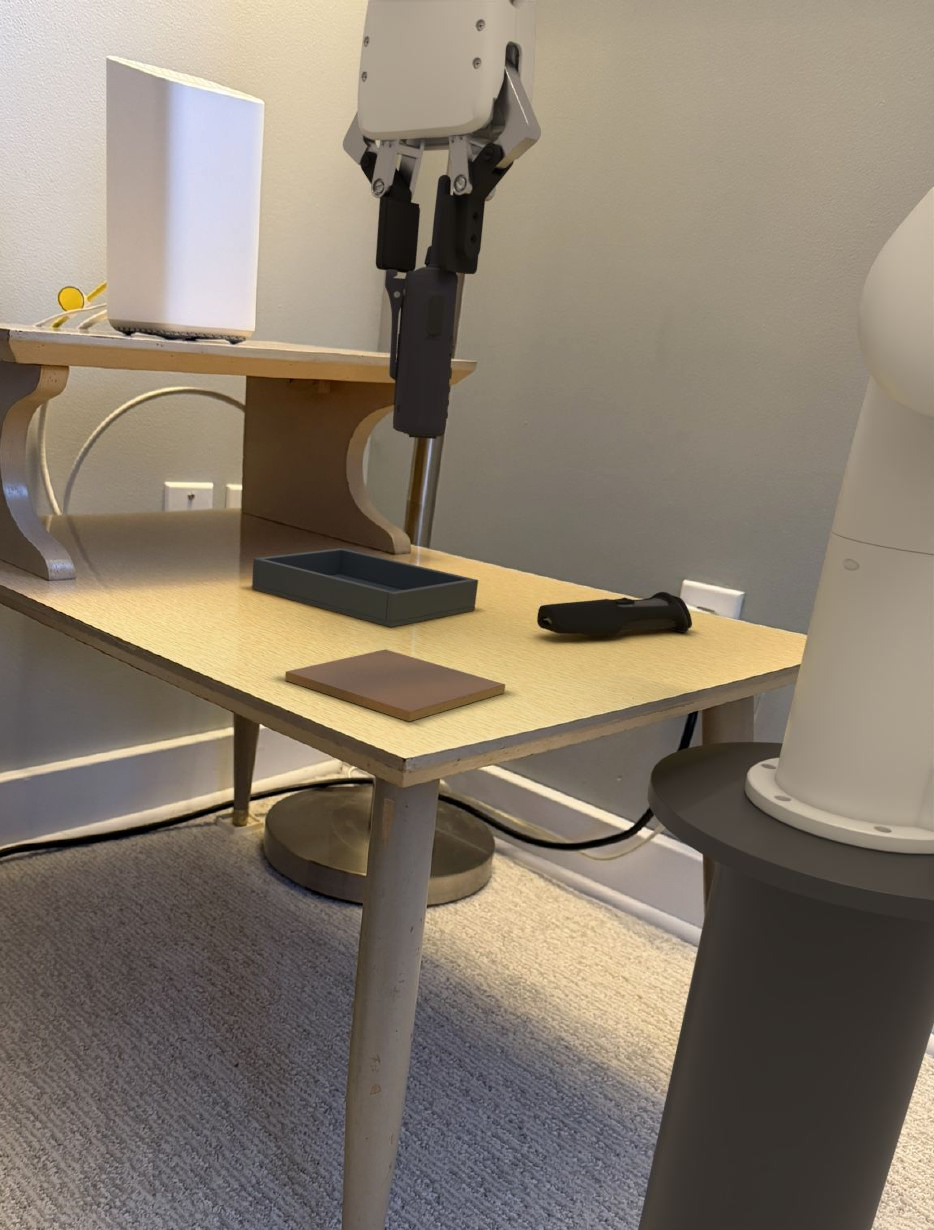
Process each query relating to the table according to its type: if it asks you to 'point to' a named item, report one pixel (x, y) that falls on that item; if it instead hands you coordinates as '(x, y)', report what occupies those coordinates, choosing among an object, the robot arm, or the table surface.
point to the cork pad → (395, 684)
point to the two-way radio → (423, 338)
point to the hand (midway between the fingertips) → (425, 267)
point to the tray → (365, 586)
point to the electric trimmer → (616, 615)
